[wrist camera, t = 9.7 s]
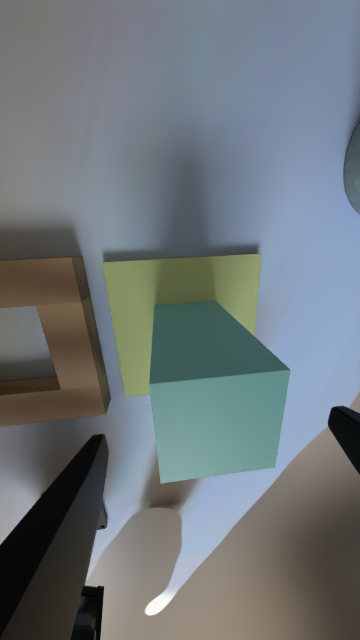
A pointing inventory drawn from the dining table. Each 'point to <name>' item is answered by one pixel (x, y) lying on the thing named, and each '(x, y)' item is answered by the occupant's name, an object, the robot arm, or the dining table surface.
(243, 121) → the dining table surface
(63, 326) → the frame
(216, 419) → the teal peg
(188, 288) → the olive mat
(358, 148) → the green cup
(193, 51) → the dining table surface
